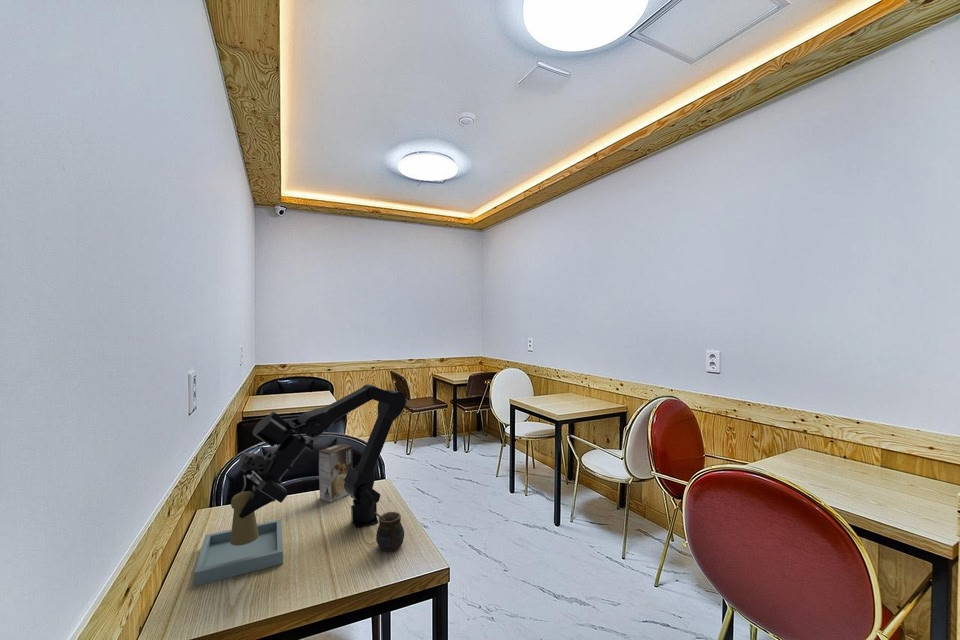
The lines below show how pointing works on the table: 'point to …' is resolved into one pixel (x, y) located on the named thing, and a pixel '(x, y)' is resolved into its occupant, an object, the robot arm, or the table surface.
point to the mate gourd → (389, 531)
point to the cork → (243, 521)
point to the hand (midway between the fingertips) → (237, 513)
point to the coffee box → (334, 471)
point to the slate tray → (239, 554)
